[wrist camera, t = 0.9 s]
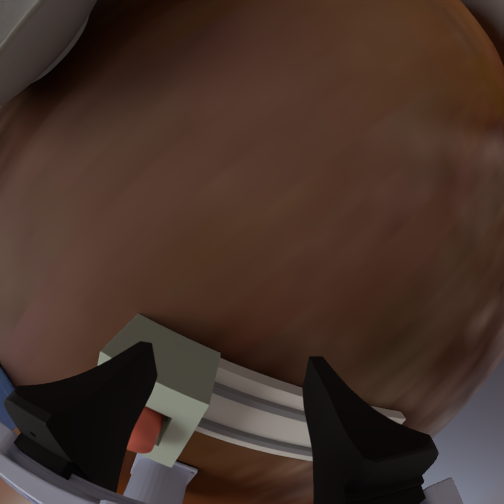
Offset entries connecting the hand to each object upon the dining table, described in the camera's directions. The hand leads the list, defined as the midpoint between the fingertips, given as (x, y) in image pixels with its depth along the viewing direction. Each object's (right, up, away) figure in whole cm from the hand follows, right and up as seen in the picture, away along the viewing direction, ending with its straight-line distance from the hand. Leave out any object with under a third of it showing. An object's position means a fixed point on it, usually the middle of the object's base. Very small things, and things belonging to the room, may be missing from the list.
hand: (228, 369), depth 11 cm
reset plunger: (-7, -7, +7) cm, 12 cm away
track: (+2, -11, +12) cm, 16 cm away
